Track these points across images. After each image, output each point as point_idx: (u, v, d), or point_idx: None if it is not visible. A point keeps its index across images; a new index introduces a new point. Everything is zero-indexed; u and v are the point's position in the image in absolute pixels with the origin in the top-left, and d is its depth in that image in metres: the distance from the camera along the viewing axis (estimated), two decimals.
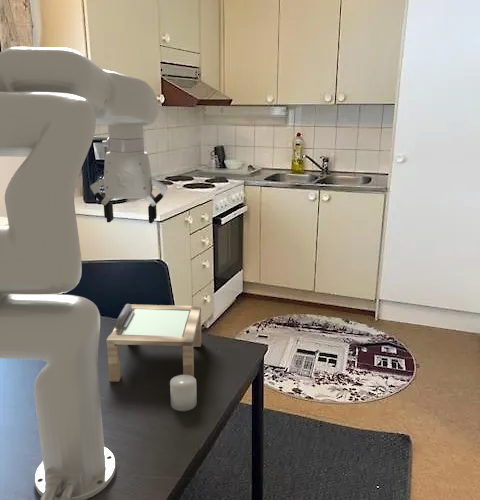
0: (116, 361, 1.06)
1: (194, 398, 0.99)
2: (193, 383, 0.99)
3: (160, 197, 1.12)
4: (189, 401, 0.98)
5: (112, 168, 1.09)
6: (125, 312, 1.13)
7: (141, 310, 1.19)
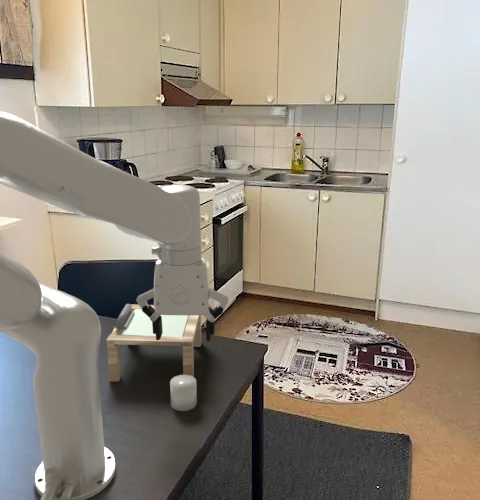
0: (116, 361, 1.06)
1: (194, 398, 0.99)
2: (193, 383, 0.99)
3: (220, 311, 0.94)
4: (189, 401, 0.98)
5: (163, 282, 0.90)
6: (125, 312, 1.13)
7: (141, 310, 1.19)
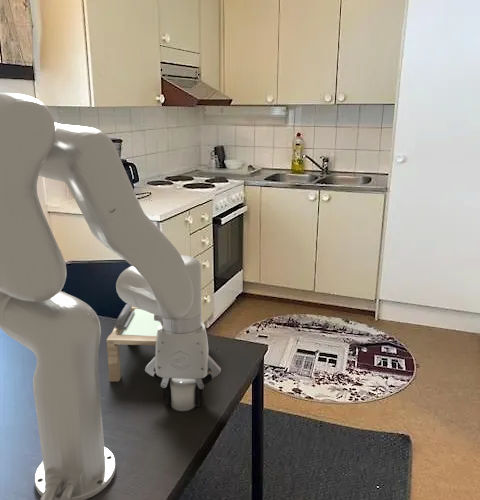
0: (116, 361, 1.06)
1: (194, 398, 0.99)
2: (193, 383, 0.99)
3: (209, 379, 0.98)
4: (189, 400, 0.98)
5: (165, 347, 0.94)
6: (125, 312, 1.13)
7: (141, 310, 1.19)
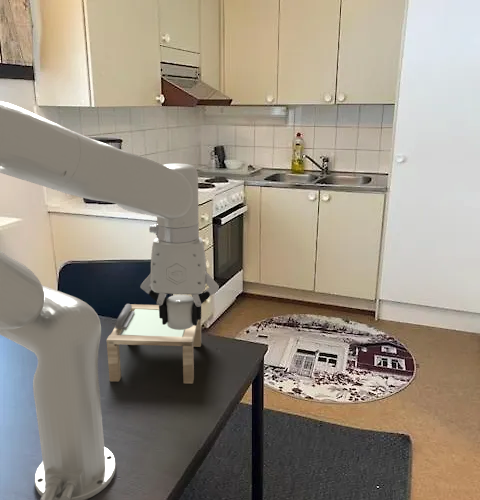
0: (116, 361, 1.06)
1: (191, 316, 0.95)
2: (190, 301, 0.95)
3: (207, 296, 0.94)
4: (186, 319, 0.94)
5: (160, 260, 0.90)
6: (125, 312, 1.13)
7: (141, 310, 1.19)
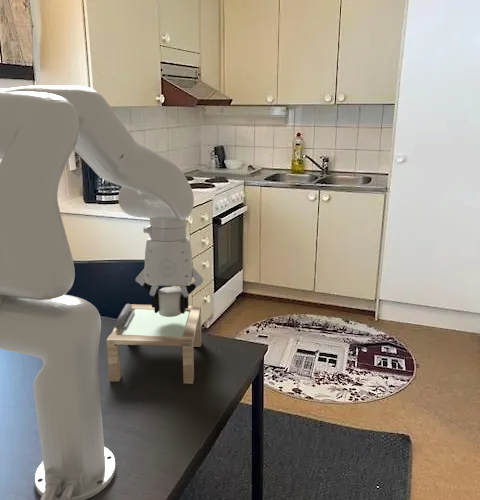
0: (116, 361, 1.06)
1: (179, 305, 1.10)
2: (179, 292, 1.10)
3: (193, 288, 1.09)
4: (175, 307, 1.09)
5: (153, 256, 1.05)
6: (125, 312, 1.13)
7: (141, 310, 1.19)
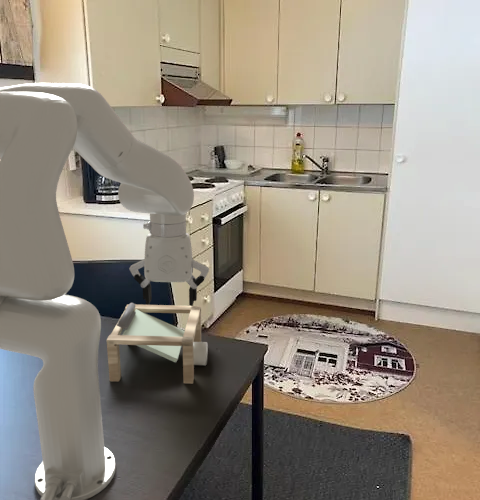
0: (116, 361, 1.06)
1: None
2: (206, 362, 1.15)
3: (201, 280, 1.08)
4: None
5: (153, 252, 1.05)
6: (130, 312, 1.13)
7: (141, 312, 1.19)
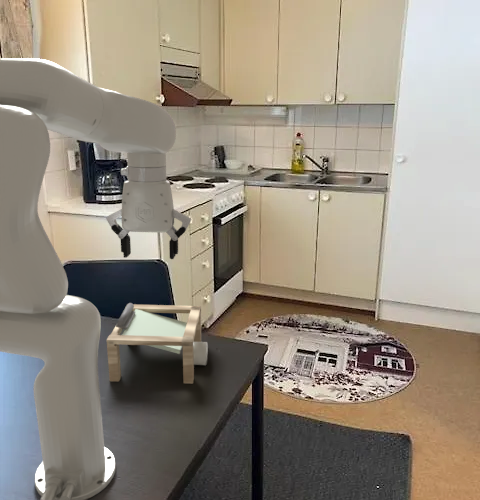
0: (116, 361, 1.06)
1: None
2: (206, 362, 1.15)
3: (183, 231, 1.02)
4: None
5: (130, 199, 0.98)
6: (128, 312, 1.12)
7: (141, 311, 1.19)
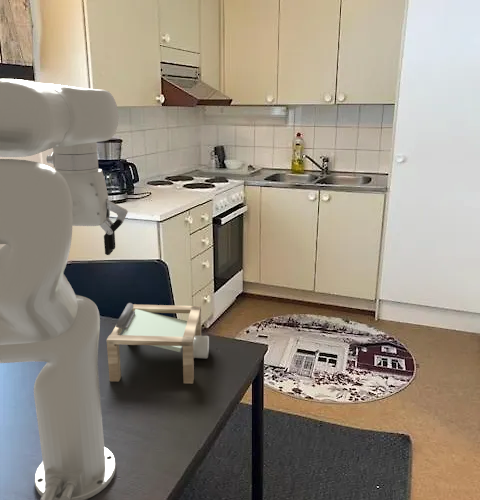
0: (116, 361, 1.06)
1: (194, 352, 1.15)
2: (206, 354, 1.15)
3: (118, 224, 0.93)
4: (193, 347, 1.15)
5: None
6: (127, 312, 1.13)
7: (141, 311, 1.19)
